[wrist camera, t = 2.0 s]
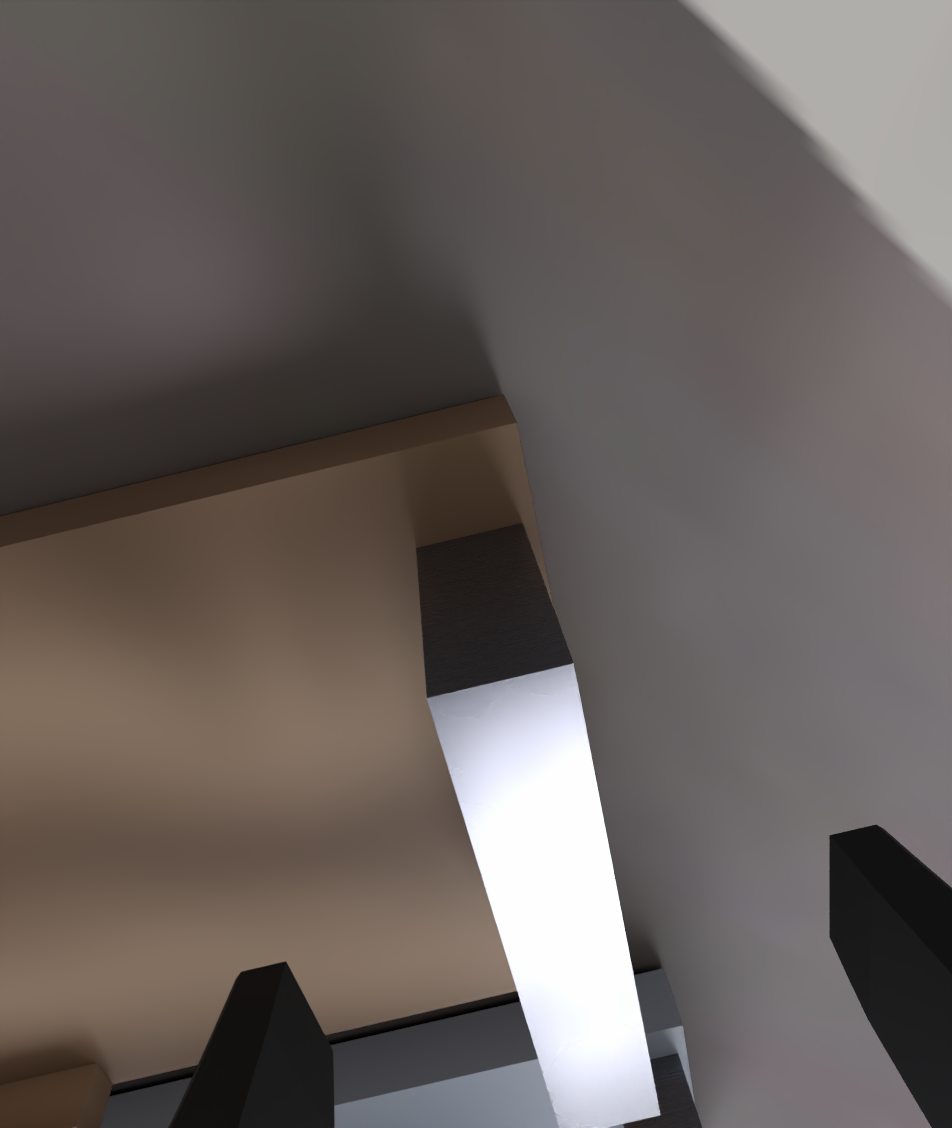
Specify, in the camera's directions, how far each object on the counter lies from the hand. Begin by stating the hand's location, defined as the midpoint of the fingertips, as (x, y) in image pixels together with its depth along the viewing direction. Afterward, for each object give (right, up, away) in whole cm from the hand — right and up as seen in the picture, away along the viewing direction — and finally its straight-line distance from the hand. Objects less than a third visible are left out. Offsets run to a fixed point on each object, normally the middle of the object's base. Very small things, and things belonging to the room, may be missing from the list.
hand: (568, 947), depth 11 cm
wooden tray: (-10, 0, +5) cm, 11 cm away
